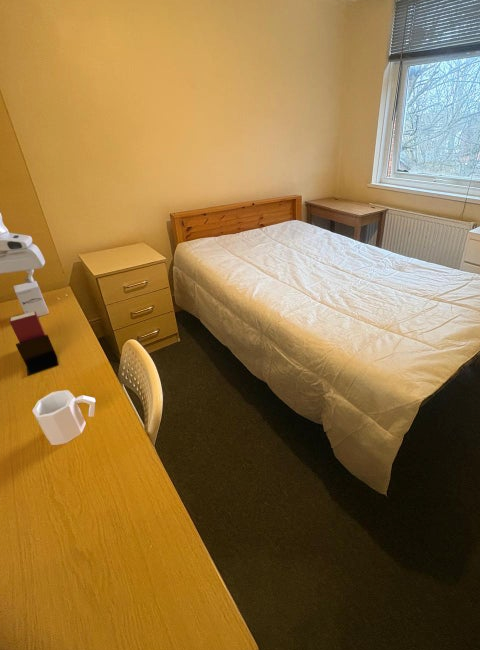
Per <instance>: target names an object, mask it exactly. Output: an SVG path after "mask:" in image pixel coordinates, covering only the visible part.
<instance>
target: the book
mask: <svg viewBox="0 0 480 650" xmlns="http://www.w3.org/2000/svg"><path fill="white" fill-rule="evenodd" d="M9 324H10V326H11V329H12V331H13V332H14V334H15V336H16V338H17V341H18V343H21V342H24V341H27V340H31V339H34V338H37V337H41V336H44V335H47V334H46V332H45V330H44V327H43V325H42V323H41V320H40V318H39V317H38V316H37V314H36V311H34V312H31V313H27V314H25V313H23V314H20V315H16V316H12V317H9Z"/></svg>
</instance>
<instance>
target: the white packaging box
mask: <svg viewBox="0 0 480 650" xmlns="http://www.w3.org/2000/svg"><path fill="white" fill-rule="evenodd" d="M12 287H13V290H14V293H15V295H16V298H17V300H18V302H19V304H20V306H21V309H22V311H23V314H27V313H31V312H34V311H36V314H37V316H38V318H39V317H42V316H46V315H48V314H50V311H49V308H48V306H47V303H46V301H45V299H44V296H43V294H42V291H41V289H40V286H39V284H38V281H37V280H34V281H33V283H26V282H24V283H20V284H16V285H13V286H12Z"/></svg>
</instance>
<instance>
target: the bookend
mask: <svg viewBox="0 0 480 650" xmlns="http://www.w3.org/2000/svg"><path fill="white" fill-rule="evenodd" d="M15 347H16V348H17V351H18V352H19V355H20V357H21V359H22V361H23V363H24V364H25V366H26V375H27V377H29V376H32V375H35V374H38V373H41V372H43V371H46V370H49V369H52V368H56V367H58V366H60V363H59V360H58V356H57V353H56V350H55V348H54V345H53V344H52V342H51V339H50V337H49V335H48V334H46V335H44V336H41V337H37V338H34V339H31V340H27V341H24V342H21V343H19V342H18V343H15Z"/></svg>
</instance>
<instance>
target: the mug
mask: <svg viewBox="0 0 480 650" xmlns="http://www.w3.org/2000/svg"><path fill="white" fill-rule="evenodd" d="M80 403H84V404H86V405H89V408H88V417H89V418H94V417H95V411H96V397H92V396H89V395H83V394H82V395H79V396H77V397H75V395H74V394H73V393H72V392H71V391H70V390H68V389H64V390H58V391H57V390H56V391H52V392H50V393H48V394H47V395H45V396H44V397H42V398H40V399H39V400H37V402H36V404H35V406H34V407H33V408H32V410H31V412H32V413H33V415H34V417H35V419H36V422H37V423H38V425H39V426H40V428H41V430H42V432H43V434H44V436H45V438H46V439H47V441H48V442H49V444H51V446H58V445H64V444H65V445H66V444H68V443H70V441H72V440H74V439H75V438H77V437H79V436H80V435H82V433H83V431H84V429H85V427H86V425H87V423H86V420H85V418H84V415H83V412H82V410H81V409H80V407H79V404H80Z"/></svg>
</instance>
